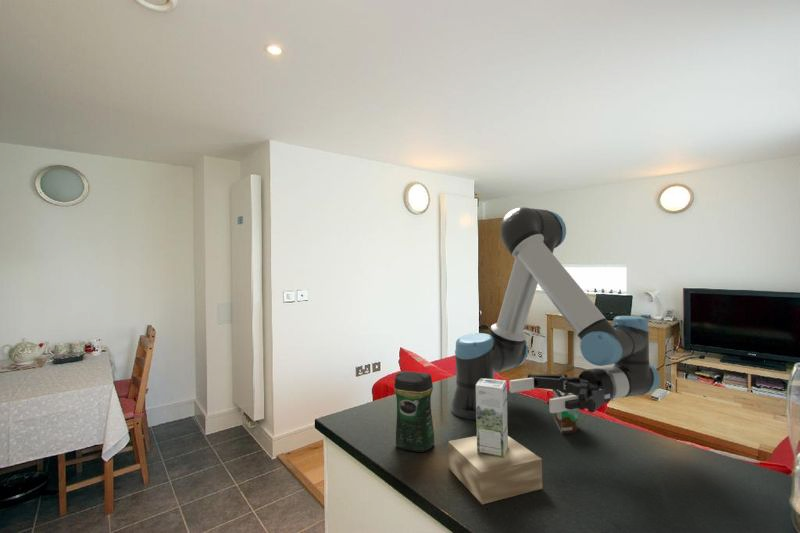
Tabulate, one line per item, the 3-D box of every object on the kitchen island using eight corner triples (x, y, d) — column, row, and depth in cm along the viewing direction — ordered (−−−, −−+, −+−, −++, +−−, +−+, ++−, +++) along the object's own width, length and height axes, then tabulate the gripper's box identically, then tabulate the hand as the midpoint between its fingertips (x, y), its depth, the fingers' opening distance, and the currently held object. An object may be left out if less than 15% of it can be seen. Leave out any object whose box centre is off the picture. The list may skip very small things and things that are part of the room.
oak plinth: (448, 468, 84) (448, 441, 84) (501, 456, 89) (501, 431, 89) (482, 504, 71) (481, 472, 71) (542, 488, 76) (541, 458, 76)
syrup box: (508, 446, 81) (507, 379, 82) (504, 459, 76) (502, 387, 76) (482, 441, 84) (481, 376, 84) (476, 453, 79) (474, 384, 79)
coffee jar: (438, 442, 97) (436, 370, 97) (426, 456, 90) (425, 378, 90) (404, 435, 101) (402, 366, 101) (391, 448, 94) (389, 374, 94)
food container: (588, 437, 98) (587, 399, 98) (562, 435, 99) (561, 398, 99) (575, 418, 110) (574, 384, 110) (553, 417, 111) (552, 383, 111)
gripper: (652, 419, 79) (572, 435, 72) (563, 384, 102) (497, 394, 95) (651, 383, 79) (571, 396, 72) (563, 357, 102) (496, 365, 95)
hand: (528, 395), depth 83 cm, fingers open, 13 cm apart
